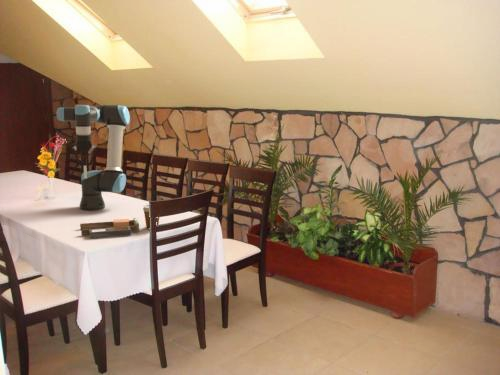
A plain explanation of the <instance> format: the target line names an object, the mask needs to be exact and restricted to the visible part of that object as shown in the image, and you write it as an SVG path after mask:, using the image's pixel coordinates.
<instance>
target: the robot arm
mask: <svg viewBox="0 0 500 375" xmlns="http://www.w3.org/2000/svg"><path fill="white" fill-rule="evenodd" d="M56 119H57V120H58V121H60V122H75V133H76V135H75V138H76V139H75V140H76V143H75V145H74V146H73V147H71V150H72V152H73V153H74V157H75V159H76V163H77V166H80V168H81V172H82V173H81V177H80V178H81V179H80V181H81V199H80V203H79V209H80V210H83V211H99V210H102V209H105V208H106V203H105V200H104V198H103V195H102V193H122V192H123V191H124V189H125V187H126V183H127V176H126V174H125V173H124V171H123V169H122V155H123V143H124V142H123V139H124V130H125V129H126V128H127V125H129V124H130V119H131V116H130V112H129V109H128V106H125V105H121V104H119V105H118V104H117V105H116V104H113V105H111V104H110V105H109V104H100V105H99V104H98V105H93V106H90V105H89V104H76V105H75V106H74V107H67V106H66V107H65V106H64V107H58V108H57V109H56ZM91 123H96V124H103V125H104V124H105V125H106V127H107V128H108V138H107V140H108V141H107V154H106V156H107V158H106V167H105V168H104V169H103V172H102V171H101V170H98V169H97V170H95V169H94V170H90V166H91V165H93V162H94V156H95V152H96V150H97V146H94V145H93V143H92V135H91V134H92V129H91ZM77 150H78V151H79V152H80V159H79V156H78V153H77ZM90 150H91V153H90V154H91V155H90V159H89V151H90ZM84 153H85V159H84ZM84 160H85V165H84Z"/></svg>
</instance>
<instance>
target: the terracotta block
mask: <svg viewBox="0 0 500 375" xmlns="http://www.w3.org/2000/svg"><path fill="white" fill-rule="evenodd" d="M129 220H130V219H129V218H120V219H119V218H118V219H115V218H114V219H113V221H114V227H113V228H114V230H125V229H127V226H129Z"/></svg>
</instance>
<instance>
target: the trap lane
mask: <svg viewBox="0 0 500 375" xmlns="http://www.w3.org/2000/svg"><path fill="white" fill-rule="evenodd" d="M79 224H80V226H79V227H80V233H81V237H86V236H88V237H89V239H100V238H101V239H102V238H114V237H125V236H132V233H137V232H140V224H139V221H138V219H137V218H136V217H133V218H132V219H129V226H127V229H125V230H114V220H112V221H102V222H101V221H99V222H97V221H96V222H87V223H79ZM95 229H105V230H102V231H101V230H100V231H93V230H95Z"/></svg>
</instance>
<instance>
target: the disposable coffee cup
mask: <svg viewBox="0 0 500 375" xmlns="http://www.w3.org/2000/svg"><path fill="white" fill-rule="evenodd" d="M149 205H150V204H145V205H144V206H143V208H142V210H143V213H144V220H145V226H146V229H148V230H150V229H149V228H150V217H149ZM156 222H157V225H158V226H159V223H160V216H159V217H158V218H156Z"/></svg>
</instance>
